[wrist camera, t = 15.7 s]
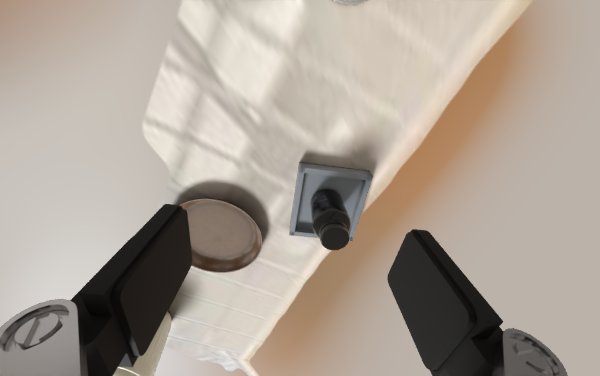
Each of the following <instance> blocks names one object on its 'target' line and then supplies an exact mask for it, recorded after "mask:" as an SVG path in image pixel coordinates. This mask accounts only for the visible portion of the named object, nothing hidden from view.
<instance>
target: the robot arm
mask: <svg viewBox="0 0 600 376" xmlns="http://www.w3.org/2000/svg"><path fill="white" fill-rule="evenodd" d="M332 1H334V2H336V3H338V4H342V5H358V4H362V3H364V2H367V1H369V0H332ZM191 265H192V249H191V241H190V232H189V223H188V214H187V210H184V209H183V207H182V206H181V205H171V204H165V205H164V206H163V207H162V208H161V209H160V210H159V211H158V212H157V213H156V214H155V215H154V216H153V217H152V218H151V219H150V220H149V221H148V222H147V223H146V224H145V225H144V226H143V228H141V229H140V230H139V231H138V233H137V234H136V235H135V236H133V237H132V238H131V239H130V240H129V241H128V242H127V243H126V244H125V245H124V246H123V247H122V248H121V249H120V250H119V251H118V252H117V253H116V254H115V255H114V256H113V257H112V258H111V259H110V260H109V261H108V262H107V263H106V264H105V265H104V266H103V267H102V268H101V269H100V271H99V272H98V273H97V274H96V275H95V276H94V277H93V278H92V279H91V280H90V281H89V282H88V283H87V284H86V285H85V286H84V287H83V288H82V289H81V290H80V291H79V292H78V293H77V294H76V295H75V296H74V297H73V298H72V300H64V299H57V300H50V301H46V302H43V303H39V304H37V305H34V306H32V307H30V308H28V309H26V310H24V311H22V312H20V313H19V314H17V315H15V316H14V317H12V318H11V319H10V320H9V321H7V322H6V323H5V324H4V325H2V326H1V327H0V376H113V375H114V373H115V371H116V369H117V368H118V367H133V366H134V364H135V362H136V360H137V358H138V357H139V356H143V355H144V354H145V353H146V351H147V349H148V347H149V346H150V344H151V342H152V340H153V338H154V336H155V334H156V332H157V330H158V328H159V327H160V325H161V323H162V321H163V319H164V317H165V315H166V313H167V311H168V309H169V307H170V306H171V304H172V302H173V300H174V298H175V296H176V294H177V292H178V290H179V288H180V287H181V285H182V283H183V281H184V279H185V277H186V275H187V273H188V271H189V269H190V267H191ZM388 283H389V286H390V288H391V290H392V292H393V295H394V297H395V299H396V302H397V304H398V306H399V308H400V310H401V313H402V315H403V318H404V320H405V322H406V324H407V327H408V329H409V331H410V333H411V336H412V338H413V340H414V342H415V345H416V347H417V349H418V352H419V354H420V356H421V358H422V361H423V363H424V365H425V366H426V368H428V369H429V370H430V371H431V374H432V376H568V375H567V372H566V370H565V368H564V366H563V364H562V363H561V362H560V360H559V359H558V358H557V356H556V355H555V354H554V353H553V352H552V351H551V350H550V349H549V348H548V347H546V346H545V345H544V344H543V343H542V342H540V341H539V340H537V339H536V338H534V337H533V336H531V335H530V334H527V333H525V332H523V331H521V330H517V329H514V328H512V329H506V330H505V331H502V329H501V328H500V327H499V326H500V325H501V324H502V323H503V321H502V319H501V318H500V317H499V316H498V315H497V313H496V312H495V311H494V310H493V309H492V307H491V306H490V305H489V304H488V303H487V301H486V300H485V299H484V298H483V297H482V295H481V294H480V293H479V292H478V291H477V289H476V288H475V287H474V286H473V284H472V283H471V282H470V281H469V280H468V279H467V277H466V276H465V275H464V274H463V272H462V271H461V270H460V269H459V268H458V266H457V265H456V264H455V263H454V262H453V260H452V259H451V258H450V257H449V256H448V254H447V253H446V252H445V251H444V250H443V248H442V247H441V246H440V245H439V243H438V242H437V241H436V240H435V239H434V237H433V236H432V235H431V234H430V233H429V232H428V231H425V230H414V229H413V230H412V231H411V232H409V233H407V234H406V236H405V239H404V241H403V243H402V245H401V247H400V250H399V252H398V255H397V256H396V258H395V261H394V263H393V265H392V267H391V269H390V271H389V274H388Z"/></svg>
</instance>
